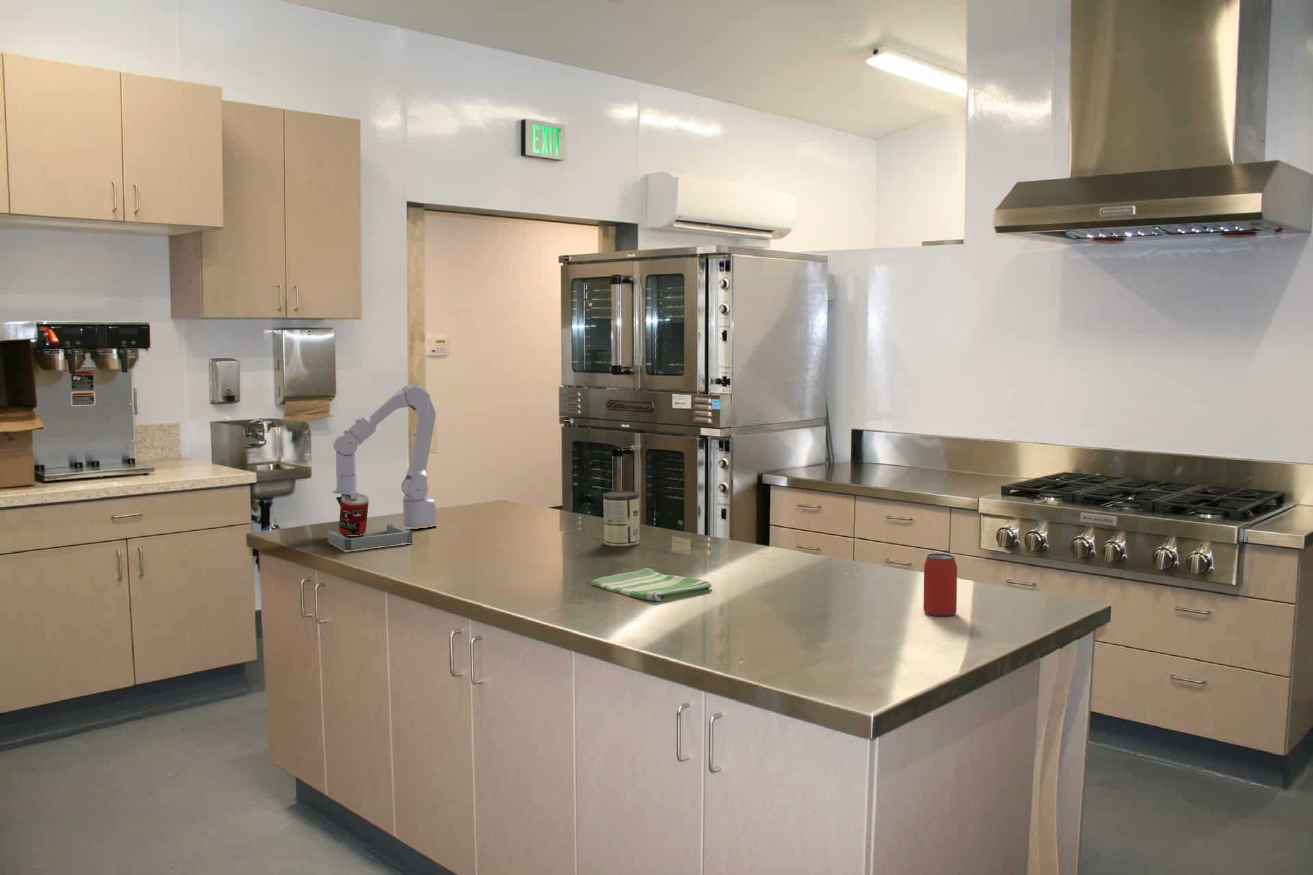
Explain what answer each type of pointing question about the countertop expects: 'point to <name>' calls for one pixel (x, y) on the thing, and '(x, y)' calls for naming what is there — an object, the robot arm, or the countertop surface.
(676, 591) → the dish towel
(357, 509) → the canned food
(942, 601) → the beer can
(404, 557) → the countertop surface
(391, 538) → the tray
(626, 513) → the coffee can
